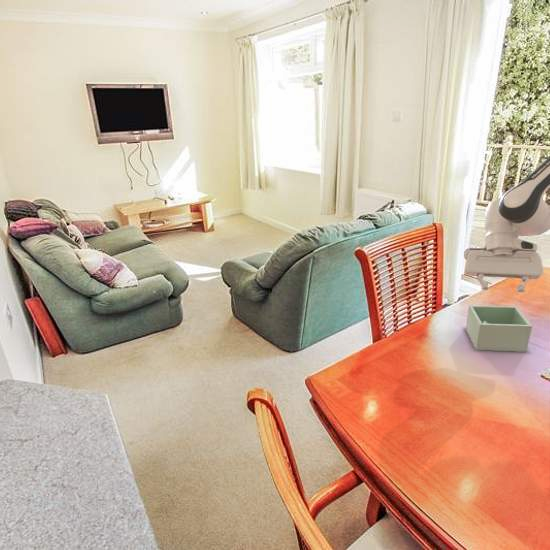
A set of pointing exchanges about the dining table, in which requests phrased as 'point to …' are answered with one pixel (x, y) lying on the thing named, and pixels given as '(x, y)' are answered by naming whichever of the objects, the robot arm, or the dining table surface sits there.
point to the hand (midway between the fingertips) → (502, 290)
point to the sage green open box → (498, 328)
